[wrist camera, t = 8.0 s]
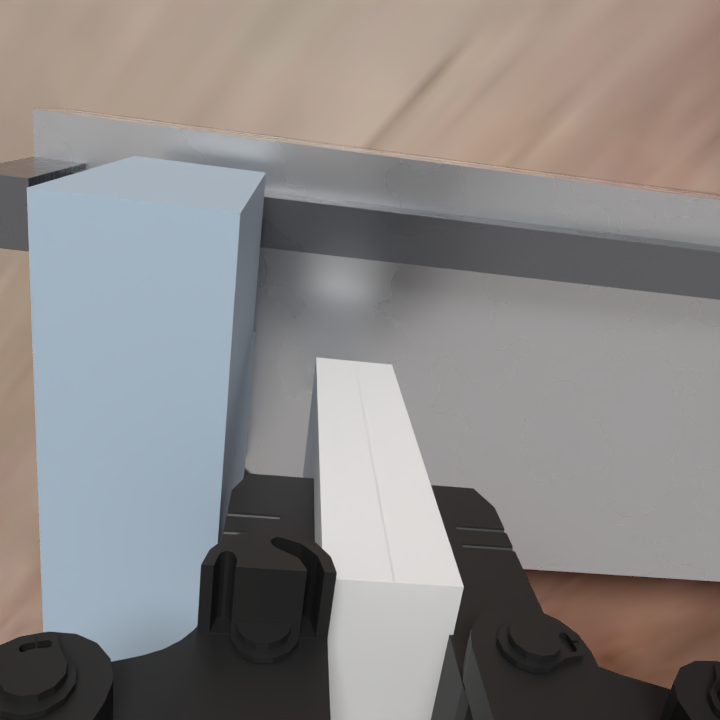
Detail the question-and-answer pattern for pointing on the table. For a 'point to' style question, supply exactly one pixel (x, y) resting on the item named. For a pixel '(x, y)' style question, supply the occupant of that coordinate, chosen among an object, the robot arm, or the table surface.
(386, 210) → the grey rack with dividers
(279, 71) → the table surface
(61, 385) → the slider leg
